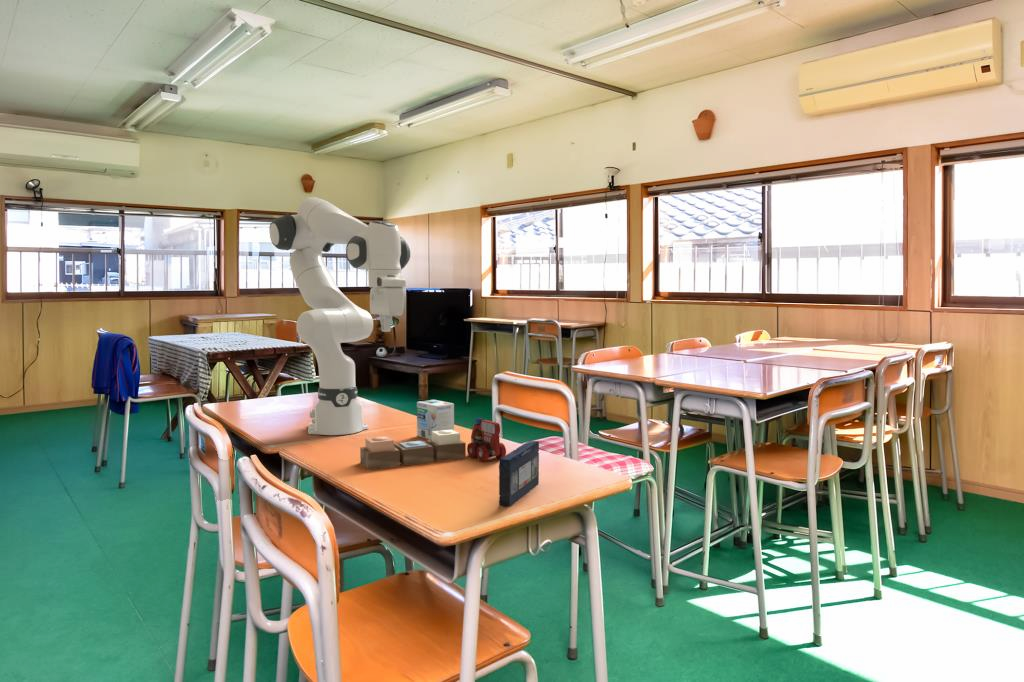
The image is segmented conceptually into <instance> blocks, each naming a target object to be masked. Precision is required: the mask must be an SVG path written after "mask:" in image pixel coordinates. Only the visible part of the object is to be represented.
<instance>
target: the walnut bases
mask: <svg viewBox="0 0 1024 682" xmlns="http://www.w3.org/2000/svg"><path fill="white" fill-rule="evenodd" d="M421 441H422V442H424V443H425V444H427V445H428V447H419V448H410V449H405V448H403V447H402V446H400V445H399V443H400V442H398V443H394V450H392V451H383V452H374V453H370V452H369V451H368V450H366V446H363V447H361V446H360V447H359V448H360V449H359V450H360V451H359V453H360V463H361V465H363V466H364V468H366V469H367V470H368V471H370V470H379V469H386V468H394V467H401V465H402V466H411V465H419V464H428V463H433V462H434V461H436V462H442V461H450V460H451V461H452V460H459V459H466V458H467V455H466V454H467V453H466V451H467V448H466V446H467V445H466V442H464V441H462V440H461V439H460V443H454V444H446V445H437V444H436V443H434V442H432V440H429V439H426V441H425V440H421Z"/></svg>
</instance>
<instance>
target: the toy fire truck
mask: <svg viewBox="0 0 1024 682" xmlns="http://www.w3.org/2000/svg"><path fill="white" fill-rule="evenodd" d="M472 426H473V427H472V430H471V434H470V435H471V436H470V440H471V441H470V442H469V443H468V444H467V445H466V446H467V448H466V451H467V454H468V456H469V457H470V458H471V459H472V458H473V459H474V458H477V459H478V460H479V462H481V463H484V462H487V461H488V460H489V458H492V457H495V458H496V459H499V460H500V459H501V458H503V457H504V456H506V455H507V448H506V446H505V444H504V443H502V442H500V441H501V439H500V434H501V425H500V422H496V421H491V420H488V419H484V420H483V418H482V417H477V418H476V419H475V423H474V424H473V425H472Z"/></svg>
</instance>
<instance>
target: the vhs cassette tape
mask: <svg viewBox="0 0 1024 682" xmlns="http://www.w3.org/2000/svg"><path fill="white" fill-rule="evenodd" d="M539 451H540V441H539V440H528V441H527V442H525V443H523V444H522V445H520V446H518V447H517V448H516V449H513V450H511V451H510V452H509V453H506V455H505V456H504V457H503V458H501V459H499V460H498V462H499V464H498V474H499V476H498V480H499V481H498V483H499V484H498V493H499V494H498V495H499V497H498V500H499V501H498V505H499V507H507V508H510V507H511V506H513V505H514V504H516V503H517V502H518V501H520V500H521V499H522V498H523V497H525V496H526V495H527V494H528V493H530V492H531V491H532V490H533V489H535V488H536V487H537V486H538V485H539V483H540V482H539V481H540V480H539V478H540V477H539V475H540V472H539V468H540V466H539V465H540V452H539ZM535 486H536V487H535ZM530 490H531V491H530ZM515 502H516V503H515Z"/></svg>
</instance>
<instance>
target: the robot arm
mask: <svg viewBox="0 0 1024 682" xmlns="http://www.w3.org/2000/svg"><path fill="white" fill-rule="evenodd" d="M400 235H401V234H400V230H399V227H398V224H396V223H395V222H391V221H383V220H372V221H370V222H369V224H367V223H365V222H363V221H361V220H360V219H358V218H356V217H354V216H352V215H351V214H349V213H347V212H345V211H344V210H342V209H340V208H339V207H337V206H335V204H333V203H331V202H329V201H327V200H325V199H322V198H319V197H314V196H311V197H307V198H305V199H303V200H302V201H301V202H300V204H299V205H298V208H297V213H296V214H291V215H290V214H289V213H287V214H285V215H281V216H279V217H276V218H274V219H273V220H272V222H271V223H270V225H269V238H270V241H271V243H272V245H273V246H274V247H275V248H276V249H277V250H281V251H290V250H293V251H292V253H291V254H290V257H289V265H290V270H291V273H292V276H293V279H294V281H295V283H296V286H297V288H298V290H299V292H300V294H301V296H302V298H303V300H304V302H305V303H306V305H307V306H308V307H310V308H312V309H309V310H306V311H303V312H301V314H300V315H299V316H298V318H297V321H296V332H297V335H298V337H299V339H300V340H302V342H304V343H305V344H306V345H308V347H309V348H310V349H311V350H312V352H313V355H314V356H315V359H316V363H317V366H318V379H319V382H318V384H319V385H318V386H319V387H318V389H317V399H318V401H317V402H316V405H315V406H314V409H311V410H309V418H310V419H311V422H308V429H307V434H308V435H322V436H342V435H343V436H344V435H351V434H355V433H356V434H357V433H359V432H361V431H363V430H367V429H369V425H368V424H365V423H364V414H363V404H362V402H360V401H359V399H357V398H358V387H357V386H356V363H355V360H353V358H351V357H350V356H348V355H347V354H345V353H344V352H343V350H342V346H341V344H342V343H355V342H359V341H362V340H364V339H368V338H369V337H370V336H371V334H372V333H373V329H374V320H373V317H372V315H379V322H380V328H381V329H380V330H381V332H384V333H390V332H391V331H392V327H391V326H392V322H393V316H394V317H395V316H396V317H398V316H402V315H403V313H404V310H405V309H404V306H405V289H404V288H406V283H407V281H406V278H404V276H403V274H402V270H403V269H404V268H405V267H406V266H407V265H408V264H409V262H410V259H411V249H410V247H409V244H408V242H407V241H406V240H405V239H404V237H402V236H400ZM335 244H336V245H337V244H338V245H346V248H345V256H346V259H347V261H348V263H349V265H350V266H351V267H353V268H354V269H358V270H367V272H368V273H367V275H368V277H367V279H368V287H369V288H370V292H369V311H368V310H366V309H363V308H362V307H359V306H358V305H356V304H355V303H354V302H353V301H351V300H350V299H349V298H348V297H347V296H346V295H345V294H344V293H343V292H342V291H341V290H340V288H339V287H338V285H337V283H336V281H335V280H334V278H333V276H332V274H331V272H330V270H329V268H328V266H327V264H326V263H325V261H324V258H323V252H324V253H329V252H330V251H331V248H332V247H333V246H335Z"/></svg>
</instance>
